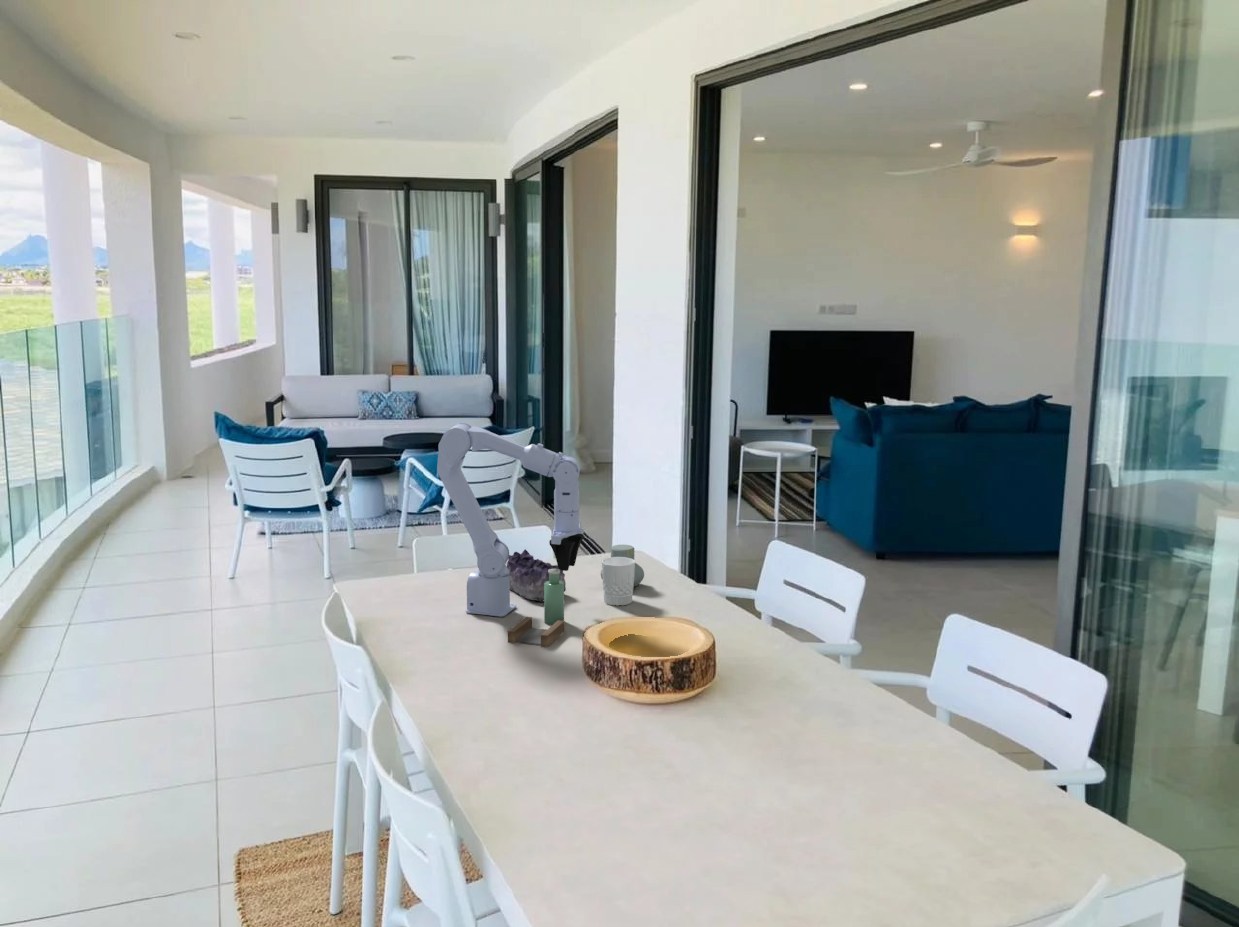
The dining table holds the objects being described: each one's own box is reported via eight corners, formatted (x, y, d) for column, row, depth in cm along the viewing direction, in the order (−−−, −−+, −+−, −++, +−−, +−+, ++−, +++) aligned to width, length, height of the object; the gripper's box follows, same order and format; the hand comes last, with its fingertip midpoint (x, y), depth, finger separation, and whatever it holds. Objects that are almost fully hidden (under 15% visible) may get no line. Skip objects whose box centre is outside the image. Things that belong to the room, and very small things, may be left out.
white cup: (634, 606, 237) (635, 565, 236) (601, 606, 237) (601, 565, 236) (634, 596, 245) (635, 556, 243) (602, 596, 245) (602, 556, 244)
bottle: (541, 624, 225) (541, 571, 223) (548, 618, 229) (548, 566, 227) (559, 626, 223) (559, 573, 221) (566, 620, 227) (566, 568, 225)
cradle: (507, 642, 213) (507, 630, 212) (526, 627, 222) (526, 616, 222) (547, 647, 210) (547, 635, 210) (564, 631, 220) (564, 620, 219)
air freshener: (649, 585, 255) (649, 546, 253) (632, 593, 248) (632, 553, 246) (612, 578, 261) (613, 540, 259) (595, 586, 254) (595, 547, 252)
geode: (487, 586, 253) (490, 547, 252) (525, 585, 260) (529, 546, 260) (531, 603, 237) (535, 561, 237) (571, 601, 244) (575, 560, 244)
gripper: (572, 517, 222) (572, 577, 224) (593, 504, 235) (593, 561, 237) (542, 515, 224) (542, 574, 226) (565, 502, 237) (565, 558, 240)
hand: (566, 567), depth 232 cm, fingers open, 4 cm apart
